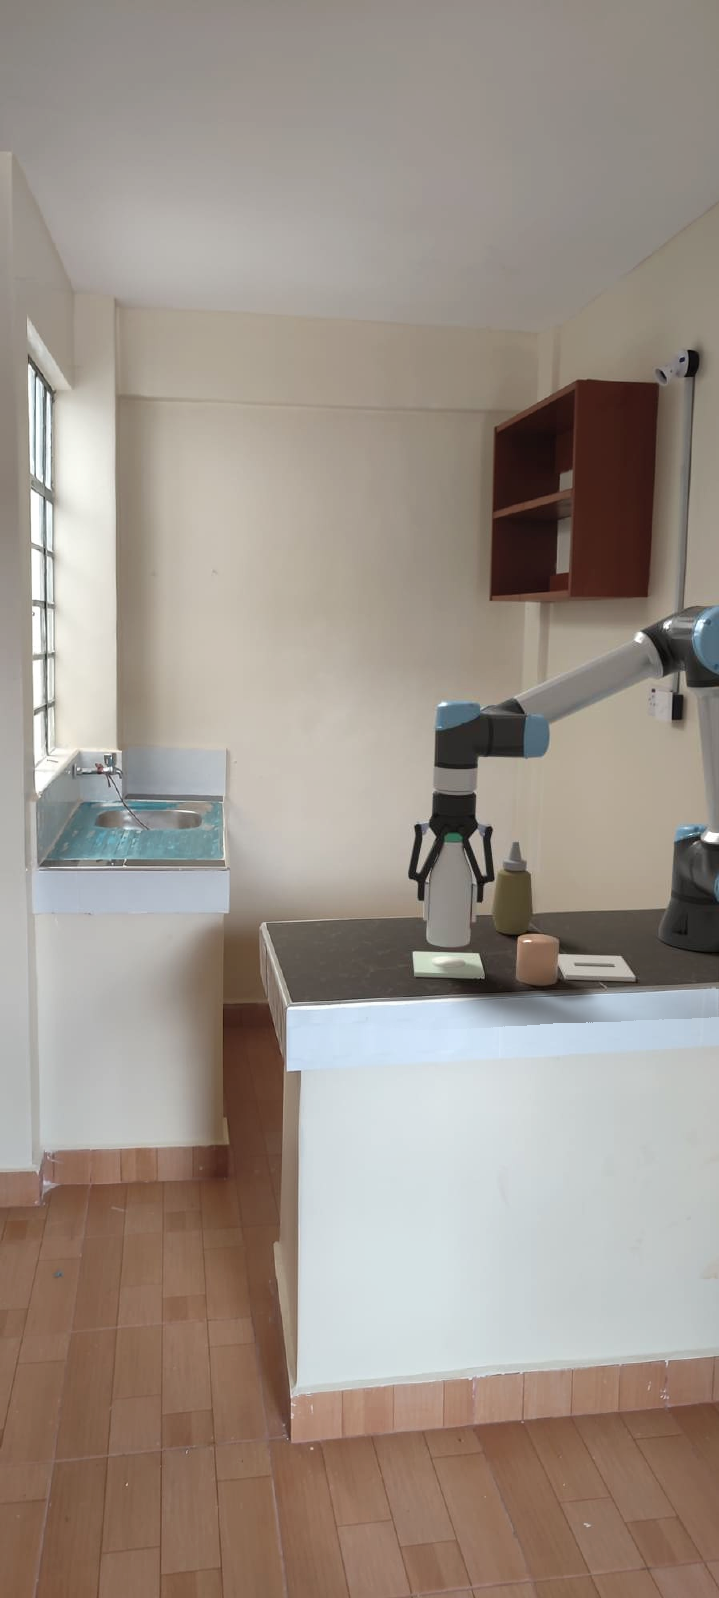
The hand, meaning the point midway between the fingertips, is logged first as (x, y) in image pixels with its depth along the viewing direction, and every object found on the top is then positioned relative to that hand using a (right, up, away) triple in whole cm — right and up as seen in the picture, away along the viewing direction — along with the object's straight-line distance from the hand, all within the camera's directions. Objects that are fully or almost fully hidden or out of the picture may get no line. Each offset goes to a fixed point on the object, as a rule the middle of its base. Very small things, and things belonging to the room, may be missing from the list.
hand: (449, 919), depth 199 cm
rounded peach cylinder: (+15, -10, -4) cm, 18 cm away
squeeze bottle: (+14, -5, +25) cm, 29 cm away
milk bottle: (0, -4, +1) cm, 4 cm away
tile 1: (0, -9, +1) cm, 9 cm away
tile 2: (+26, -9, +2) cm, 28 cm away
